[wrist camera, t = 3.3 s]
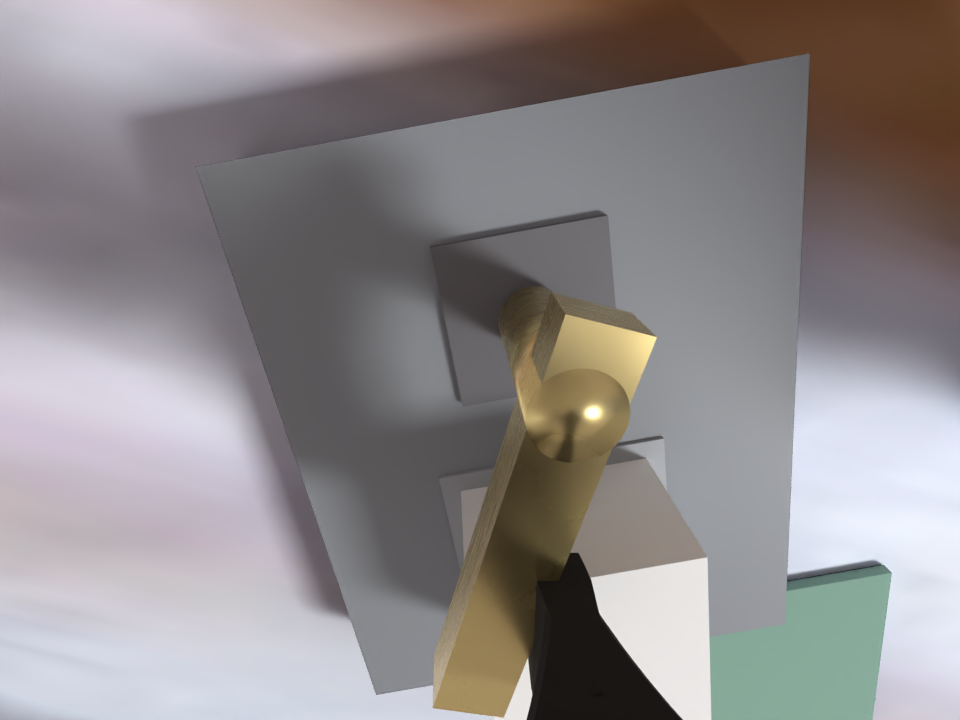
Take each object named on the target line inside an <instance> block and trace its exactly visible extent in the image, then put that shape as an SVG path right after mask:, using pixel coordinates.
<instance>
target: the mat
mask: <svg viewBox="0 0 960 720" xmlns="http://www.w3.org/2000/svg"><path fill="white" fill-rule="evenodd" d="M891 574H892V573H891V572H890V571H889V570H888V569H887V568H886V567H885V566H884V565H880V566H874V567H869V568H863V569H857V570H851V571H846V572H840V573H834V574H828V575H823V576H817V577H811V578H805V579H800V580H794V581H788V582H787V590H786V613H785V624H783V625H777V626H771V627H765V628H759V629H754V630H748V631H742V632H736V633H731V634H725V635H719V636H713V637H709V641H710V683H711V720H872V718H873V710H874V702H875V695H876V687H877V680H878V672H879V665H880V657H881V650H882V642H883V635H884V627H885V620H886V612H887V605H888V597H889V589H890V582H891Z"/></svg>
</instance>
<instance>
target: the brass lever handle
mask: <svg viewBox="0 0 960 720" xmlns="http://www.w3.org/2000/svg"><path fill="white" fill-rule="evenodd" d="M498 325H499V330H500V334H501V337H502V341H503V345H504V349H505V352H506V356H507V360H508V363H509V367H510V371H511V374H512V378H513V382H514V385H515V389H516V393H517V399H516V402H515V405H514V408H513V411H512V414H511V417H510V420H509V424H508V427H507V430H506V433H505V436H504V439H503V442H502V445H501V448H500V451H499V454H498V458H497V461H496V464H495V467H494V470H493V473H492V476H491V479H490V482H489V485H488V489H487V492H486V495H485V498H484V501H483V504H482V507H481V510H480V513H479V516H478V520H477V523H476V526H475V529H474V532H473V535H472V538H471V541H470V544H469V547H468V551H467V554H466V557H465V560H464V563H463V566H462V569H461V572H460V575H459V578H458V582H457V585H456V588H455V591H454V594H453V597H452V600H451V603H450V606H449V609H448V612H447V616H446V619H445V622H444V625H443V628H442V631H441V634H440V637H439V640H438V643H437V647H436V650H435V653H434V680H433V708H437V709H444V710H451V711H459V712H466V713H473V714H480V715H488V716H495V717H502V718H504V716H505V714H506V711H507V709H508V706H509V704H510V701H511V699H512V696H513V694H514V691H515V689H516V686H517V684H518V681H519V679H520V676H521V674H522V671H523V669H524V666H525V664H526V661H527V659H528V656H529V654H530V651H531V649H532V646H533V642H534V623H535V605H536V586H537V581H557V580H559V579H560V577H561V574H562V572H563V570H564V567H565V565H566V562H567V560H568V557H569V555H570V552H571V550H572V547H573V545H574V542H575V540H576V537H577V535H578V532H579V530H580V527H581V525H582V522H583V520H584V517H585V515H586V512H587V510H588V507H589V505H590V502H591V500H592V497H593V495H594V493H595V490H596V488H597V485H598V483H599V480H600V478H601V475H602V473H603V470H604V468H605V465H606V463H607V460H608V458H609V455H610V453H611V450H612V448H613V447H614V446H615V445H616V444H617V443H618V442H619V441H620V440H621V438H622V437H623V435H624V433H625V431H626V429H627V427H628V424H629V419H630V403H631V401H632V398H633V396H634V393H635V391H636V388H637V386H638V383H639V381H640V378H641V376H642V373H643V371H644V368H645V366H646V363H647V361H648V358H649V356H650V353H651V351H652V348H653V346H654V343H655V341H656V339H657V337H656V336H655V335H654V334H653V333H652V332H651V331H650V330H649V329H648V328H647V327H646V326H645V325H644V324H643V323H642V322H641V321H640V320H639V319H638V318H637V317H636V316H635V315H634V314H633V313H631V312H627V311H623V310H619V309H615V308H611V307H607V306H603V305H599V304H595V303H592V302H588V301H584V300H580V299H576V298H572V297H568V296H564V295H560V294H556V293H554V292H553V291H551V290H549V289H546V288H543V287H535V286H534V287H526V288H523V289H520V290H518V291H516V292H515V293H513V294H512V295H511V296H510V297H508V299H507V300H506V301H505V302H504V304H503V306H502V307H501V310H500V313H499V319H498Z"/></svg>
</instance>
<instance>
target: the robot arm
mask: <svg viewBox="0 0 960 720" xmlns="http://www.w3.org/2000/svg"><path fill="white" fill-rule="evenodd" d="M528 663H529V673H530V682H531V690H532V699H531V703H530V707H529V712H528V716H527V720H683V719H682V718H681V717H680V716H679V715H678V714H677V713H676V711H675V710H674V709H673V708H672V707H671V706H670V704H669V703H668V702H667V701H666V700H665V699H664V698H663V696H662V695H661V694H660V693H659V692H658V690H657V689H656V688H655V687H654V686H653V684H652V683H651V682H650V681H649V679H648V678H647V677H646V676H645V674H644V673H643V672H642V671H641V669H640V668H639V667H638V666H637V664H636V663H635V662H634V661H633V659H632V658H631V657H630V655H629V654H628V653H627V651H626V650H625V649H624V647H623V646H622V645H621V643H620V642H619V640H618V639H617V638H616V636H615V635H614V633H613V632H612V631H611V629H610V628H609V626H608V625H607V624H606V622H605V621H604V619H603V618H602V617H601V615H600V614H599V610H598V606H597V602H596V598H595V593H594V589H593V585H592V581H591V578H590V576H589V574H588V571H587V569H586V567H585V565H584V563H583V561H582V559H581V557H580V555H579V553H570V555H569V557H568V560H567V562H566V565H565V567H564V570H563V572H562V574H561V577H560V579H559V580H557V581H537V586H536V605H535V623H534V642H533V646H532V649H531V651H530V654H529V656H528Z"/></svg>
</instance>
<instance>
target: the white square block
mask: <svg viewBox="0 0 960 720" xmlns="http://www.w3.org/2000/svg"><path fill="white" fill-rule="evenodd" d="M487 489H488V486H487V487H481V488H475V489H470V490H464V491H461V503H462V527H463V551H464V560H465V557H466V554H467V551H468V547H469V544H470V541H471V538H472V535H473V532H474V529H475V526H476V523H477V520H478V516H479V513H480V510H481V507H482V504H483V501H484V498H485V495H486V492H487ZM570 553H579V555H580V557H581V559H582V561H583V563H584V565H585V567H586V569H587V571H588V574H589V576H590V578H591V581H592V585H593V589H594V593H595V598H596V602H597V606H598V610H599V614H600V615H601V617H602V618H603V619H604V621H605V622H606V624H607V625H608V626H609V628H610V629H611V631H612V632H613V633H614V635H615V636H616V638H617V639H618V640H619V642H620V643H621V645H622V646H623V647H624V649H625V650H626V651H627V653H628V654H629V655H630V657H631V658H632V659H633V661H634V662H635V663H636V664H637V666H638V667H639V668H640V669H641V671H642V672H643V673H644V674H645V676H646V677H647V678H648V679H649V681H650V682H651V683H652V684H653V686H654V687H655V688H656V689H657V690H658V692H659V693H660V694H661V695H662V696H663V698H664V699H665V700H666V701H667V702H668V703H669V704H670V706H671V707H672V708H673V709H674V710H675V711H676V713H677V714H678V715H679V716H680V717H681V718H682V719H683V720H711V683H710V641H709V599H708V558H707V556H706V554H705V552H704V551H703V549H702V548H701V546H700V544H699V543H698V541H697V540H696V538H695V536H694V535H693V533H692V531H691V530H690V528H689V527H688V525H687V523H686V522H685V520H684V518H683V517H682V515H681V514H680V512H679V510H678V509H677V507H676V505H675V504H674V502H673V501H672V499H671V497H670V496H669V494H668V493H667V491H666V489H665V488H664V486H663V484H662V483H661V481H660V480H659V478H658V476H657V475H656V473H655V471H654V470H653V468H652V467H651V465H650V463H649V462H648V460H647V458H645V459H639V460H633V461H628V462H622V463H617V464H611V465H605V468H604V470H603V473H602V475H601V478H600V480H599V483H598V485H597V488H596V490H595V493H594V495H593V497H592V500H591V502H590V505H589V507H588V510H587V512H586V515H585V517H584V520H583V522H582V525H581V527H580V530H579V532H578V535H577V537H576V540H575V542H574V545H573V547H572V550H571V552H570ZM531 699H532V690H531V682H530V673H529V663H528V659H527V661H526V664H525V666H524V669H523V671H522V674H521V676H520V679H519V681H518V684H517V686H516V689H515V691H514V694H513V696H512V699H511V701H510V704H509V706H508V709H507V711H506V714H505V716H504V718H502V717H495V716H493V718H494V720H527V716H528V712H529V707H530V703H531Z"/></svg>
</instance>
